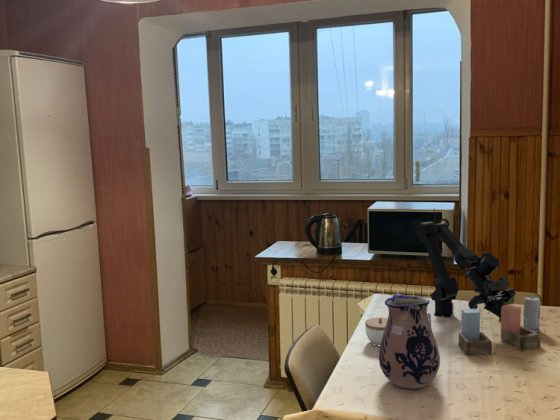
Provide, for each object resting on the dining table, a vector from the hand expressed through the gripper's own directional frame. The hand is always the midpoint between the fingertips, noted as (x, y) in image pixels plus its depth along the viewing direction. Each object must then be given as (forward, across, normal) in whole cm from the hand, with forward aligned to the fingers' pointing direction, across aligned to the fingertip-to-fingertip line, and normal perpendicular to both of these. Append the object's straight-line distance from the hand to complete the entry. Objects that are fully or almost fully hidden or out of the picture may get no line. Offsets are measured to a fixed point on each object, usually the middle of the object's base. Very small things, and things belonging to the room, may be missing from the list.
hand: (505, 319), depth 195 cm
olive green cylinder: (-3, +14, +13) cm, 20 cm away
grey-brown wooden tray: (+10, 0, 0) cm, 10 cm away
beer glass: (+4, -37, +6) cm, 38 cm away
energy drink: (+4, +15, +6) cm, 16 cm away
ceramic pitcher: (+12, -52, -2) cm, 53 cm away
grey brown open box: (+7, -17, +3) cm, 19 cm away
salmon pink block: (+7, 0, +3) cm, 7 cm away
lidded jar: (-8, -40, +18) cm, 45 cm away
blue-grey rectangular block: (+4, -15, +6) cm, 17 cm away
